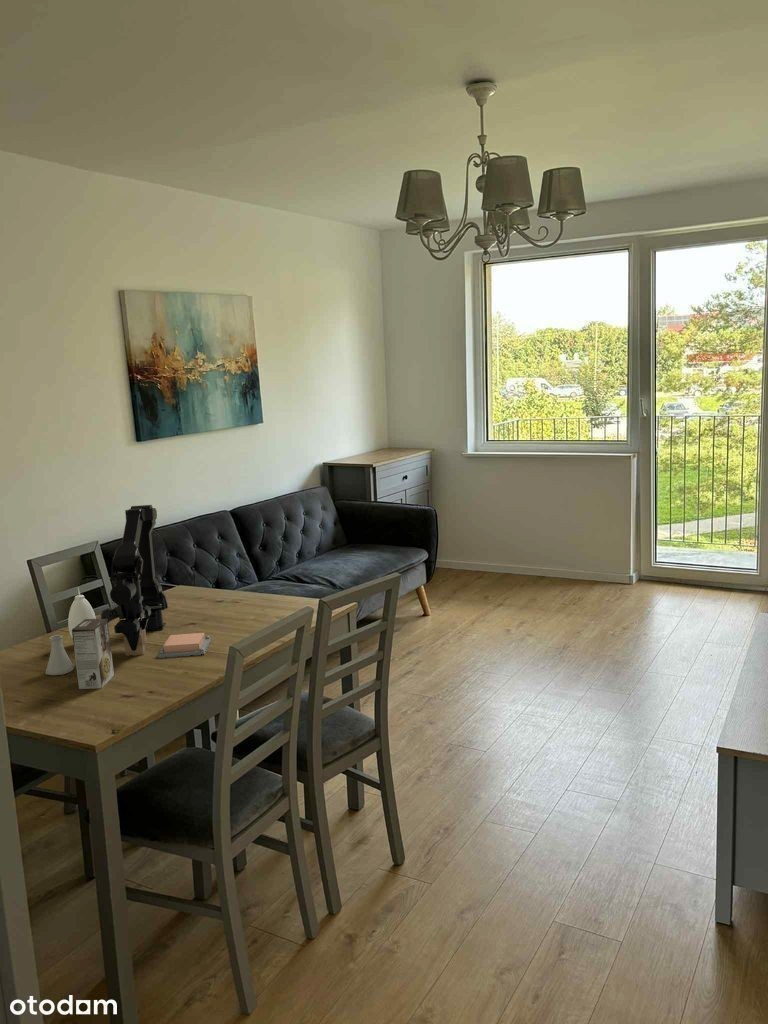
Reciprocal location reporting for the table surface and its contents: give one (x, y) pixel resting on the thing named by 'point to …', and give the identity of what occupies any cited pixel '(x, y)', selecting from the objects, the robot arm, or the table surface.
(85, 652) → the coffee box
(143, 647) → the tan wooden block
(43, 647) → the table surface
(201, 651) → the brick base
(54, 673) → the flask
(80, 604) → the sauce bottle
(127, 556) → the robot arm
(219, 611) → the table surface
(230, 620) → the table surface
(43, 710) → the table surface
